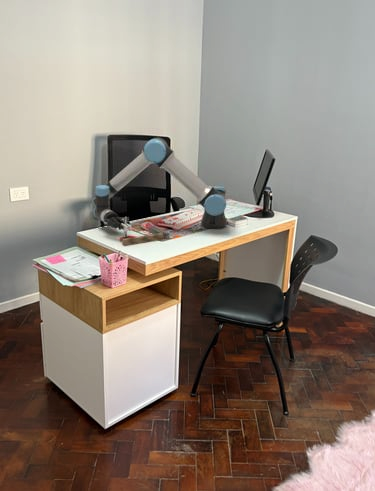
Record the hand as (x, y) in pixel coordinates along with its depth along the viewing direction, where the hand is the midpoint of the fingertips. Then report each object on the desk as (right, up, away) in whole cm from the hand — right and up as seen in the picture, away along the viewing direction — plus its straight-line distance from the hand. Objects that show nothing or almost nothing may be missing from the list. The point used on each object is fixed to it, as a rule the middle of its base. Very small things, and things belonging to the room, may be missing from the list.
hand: (129, 228), depth 218 cm
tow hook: (-1, -5, +8) cm, 10 cm away
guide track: (+3, -4, +11) cm, 12 cm away
